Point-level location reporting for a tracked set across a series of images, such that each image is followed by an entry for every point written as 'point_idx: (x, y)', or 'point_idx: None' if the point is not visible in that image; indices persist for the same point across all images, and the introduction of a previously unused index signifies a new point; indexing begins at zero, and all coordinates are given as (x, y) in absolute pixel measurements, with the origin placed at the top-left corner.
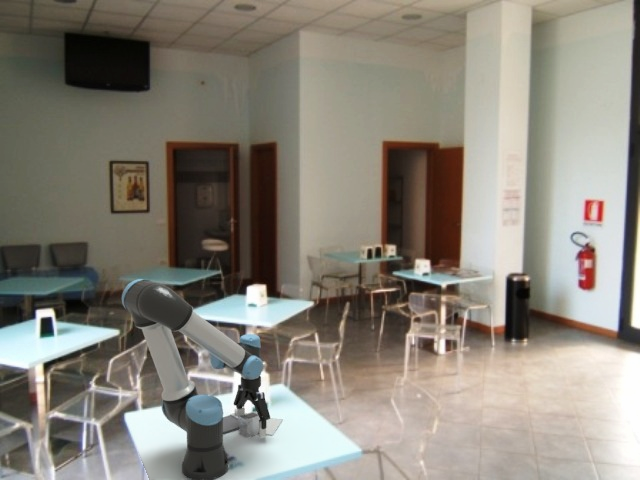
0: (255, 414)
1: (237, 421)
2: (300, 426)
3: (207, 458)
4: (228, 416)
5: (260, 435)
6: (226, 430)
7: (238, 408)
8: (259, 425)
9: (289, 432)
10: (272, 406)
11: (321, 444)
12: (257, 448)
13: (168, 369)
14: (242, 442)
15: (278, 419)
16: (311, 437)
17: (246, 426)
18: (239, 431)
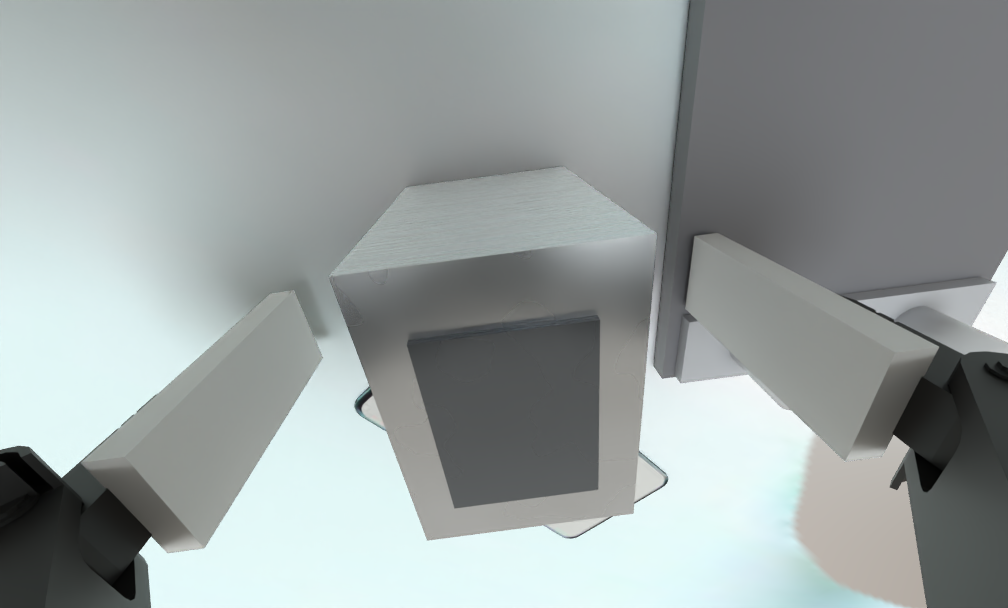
0: (499, 489)
1: (805, 275)
2: (412, 570)
3: None
4: (986, 251)
5: (260, 310)
6: (722, 22)
7: (944, 372)
8: (178, 386)
9: (353, 505)
10: (784, 554)
11: None
12: (76, 164)
13: None
14: (312, 77)
15: (588, 523)
16: (217, 564)
17: (380, 226)
18: (567, 171)
